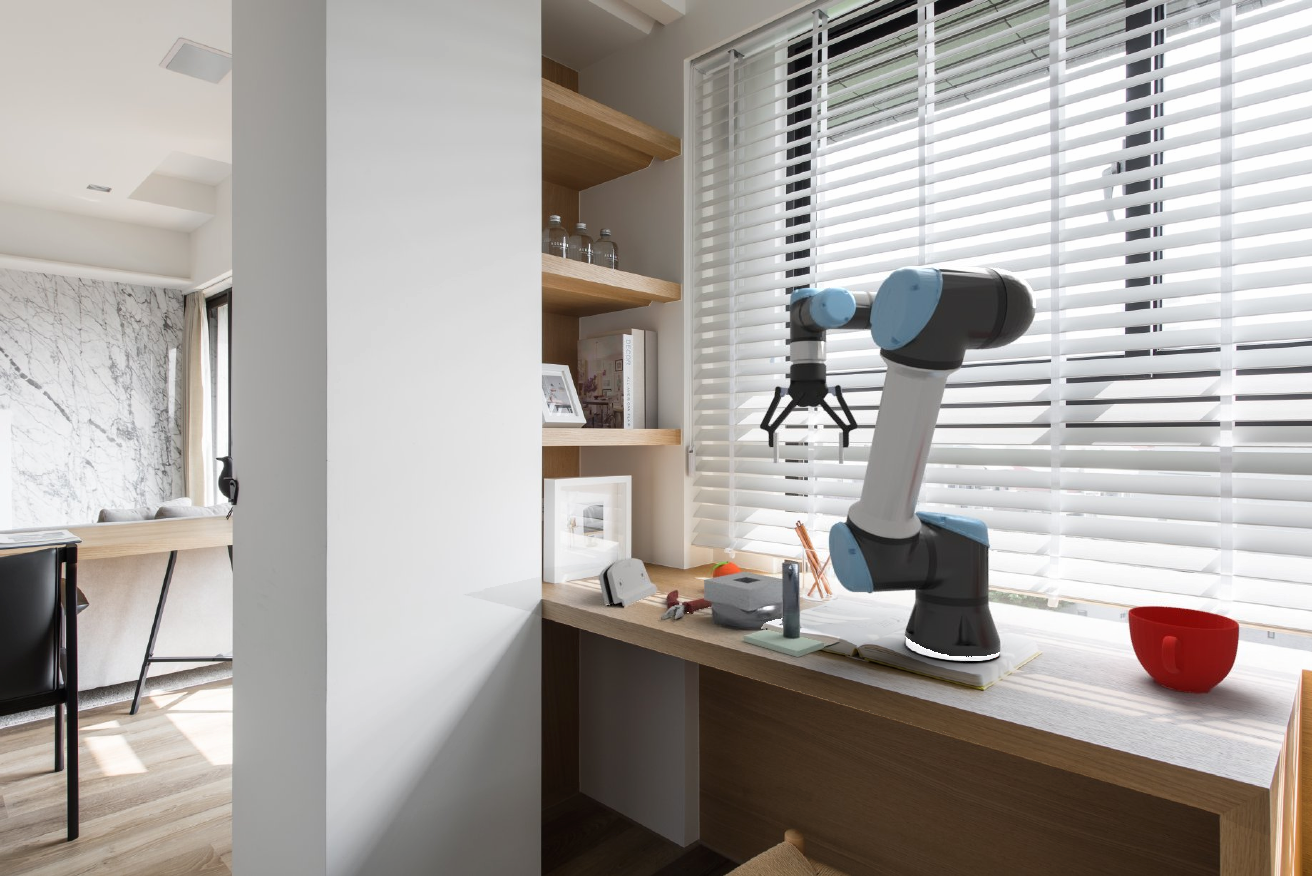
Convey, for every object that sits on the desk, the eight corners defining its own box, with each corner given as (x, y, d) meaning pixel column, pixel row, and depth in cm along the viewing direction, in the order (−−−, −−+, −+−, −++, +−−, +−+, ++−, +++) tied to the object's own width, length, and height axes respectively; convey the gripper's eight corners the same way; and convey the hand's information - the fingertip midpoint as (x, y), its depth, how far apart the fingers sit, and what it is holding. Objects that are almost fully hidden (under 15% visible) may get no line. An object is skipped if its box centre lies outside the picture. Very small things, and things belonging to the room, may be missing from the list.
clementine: (719, 596, 159) (718, 565, 159) (703, 590, 166) (703, 560, 166) (748, 592, 163) (748, 562, 163) (732, 587, 169) (731, 557, 169)
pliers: (641, 622, 140) (641, 609, 140) (672, 599, 159) (672, 588, 159) (696, 627, 137) (696, 614, 137) (721, 603, 156) (721, 591, 156)
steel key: (797, 642, 121) (796, 567, 121) (780, 640, 122) (779, 566, 122) (802, 632, 127) (801, 560, 127) (785, 630, 128) (784, 560, 128)
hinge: (624, 608, 150) (610, 563, 151) (606, 613, 152) (593, 569, 153) (658, 592, 165) (645, 551, 166) (642, 597, 167) (629, 556, 168)
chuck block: (797, 620, 139) (796, 580, 139) (750, 634, 130) (749, 591, 129) (744, 607, 149) (744, 570, 149) (697, 619, 140) (697, 579, 140)
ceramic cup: (1112, 692, 100) (1111, 622, 100) (1139, 664, 112) (1138, 601, 111) (1228, 718, 90) (1228, 641, 90) (1244, 684, 102) (1244, 616, 102)
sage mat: (839, 642, 124) (839, 636, 124) (797, 657, 116) (797, 651, 116) (786, 628, 133) (786, 623, 133) (743, 641, 125) (743, 635, 125)
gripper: (869, 362, 148) (869, 462, 149) (752, 366, 156) (753, 461, 156) (869, 359, 141) (869, 464, 141) (746, 363, 149) (746, 463, 149)
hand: (808, 463), depth 149 cm, fingers open, 13 cm apart
